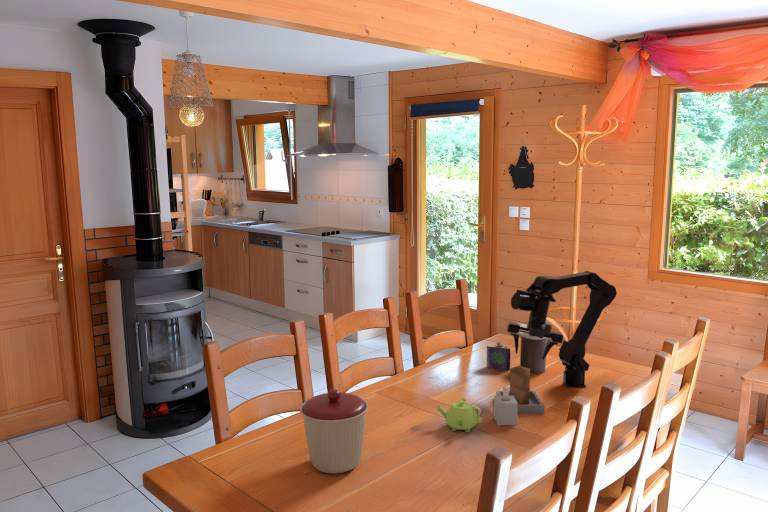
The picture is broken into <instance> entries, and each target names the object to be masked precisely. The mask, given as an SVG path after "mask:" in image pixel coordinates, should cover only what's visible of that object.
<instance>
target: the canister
mask: <svg viewBox="0 0 768 512" xmlns="http://www.w3.org/2000/svg"><path fill="white" fill-rule="evenodd" d="M368 410H369V403H368V402H367V401H366V400H365V399H364V398H362V397H360V396H358V395H356V394H353V393H348V392H340V390H339V389H336V388H333V389H330V390H329V391H328V392H325V393H321V394H318V395H315V396H312V397H310V398H309V399H307V400H305V401H304V402H303V403H302V404H301V405H300V407H299V411H300V414H301V415H302V417H303V418H302V420H303V424H304V431H305V436H306V437H305V438H306V439H305V440H306V445H307V449H308V456H309V460H310V462H311V464H312V466H313V467H314V468H315V469H316V470H317V471H319V472H321V473H326V474H334V475H335V474H336V475H337V474H343V473H347V472H349V471H351V470H353V469H355V468H356V467H357V466H358V465H359V463H360V461H361V458H362V453H363V452H362V451H363V445H364V436H365V426H366V425H365V424H366V414H367V412H368Z"/></svg>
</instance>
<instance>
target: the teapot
mask: <svg viewBox="0 0 768 512" xmlns="http://www.w3.org/2000/svg"><path fill="white" fill-rule="evenodd" d="M475 409H476V410H478V411H477V412H476V410H475ZM436 410H437V411H438V412H439V413H440V414H441V415H442V416H443V417H444V418H445V422H446V424H447V425H448V426H449V428H451V431H452V432H457V430H461V431H462V430H463V431H464V432H466V433H470V432H471V429H472V428H474V427H475V426H476V425H477V423H479V424H480V423H482V422H483V419H482V417H480V415H481V409H480V407H478V406H476V405H473V406H472V404H471V403H469V402H467V399H466V398H464V397H463V398H461V399H460V400H457V401H455V402H453V403H452V404H451V405H450V406H449V408H448V410H447V411H446V410H445V409H444V408H443V407H442V406H441V405H438V406H437V407H436Z"/></svg>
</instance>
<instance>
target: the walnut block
mask: <svg viewBox="0 0 768 512" xmlns="http://www.w3.org/2000/svg"><path fill="white" fill-rule="evenodd" d="M530 386H531V374H530V369H529V368H526V367H522V366H520V365H516V366H514V367H510V370H509V391H510V396H514V398H515V399H516V401H517V403H518V405H528V404H529V395H530V390H531V387H530Z"/></svg>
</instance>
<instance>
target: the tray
mask: <svg viewBox="0 0 768 512" xmlns="http://www.w3.org/2000/svg"><path fill="white" fill-rule="evenodd" d="M495 393H496V395H495V396H503V390H496V391H495ZM509 396H510V390H509ZM534 414H537V415H539V414H540V415H541V414H542V415H544V414H545V404H544V402H543V401H542V400H541V398H540V396H539V394H538V393H537V392H536V390H533V389H532V390H531V389H530V395H529V404H528V405H518V406H517V415H534Z"/></svg>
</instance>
